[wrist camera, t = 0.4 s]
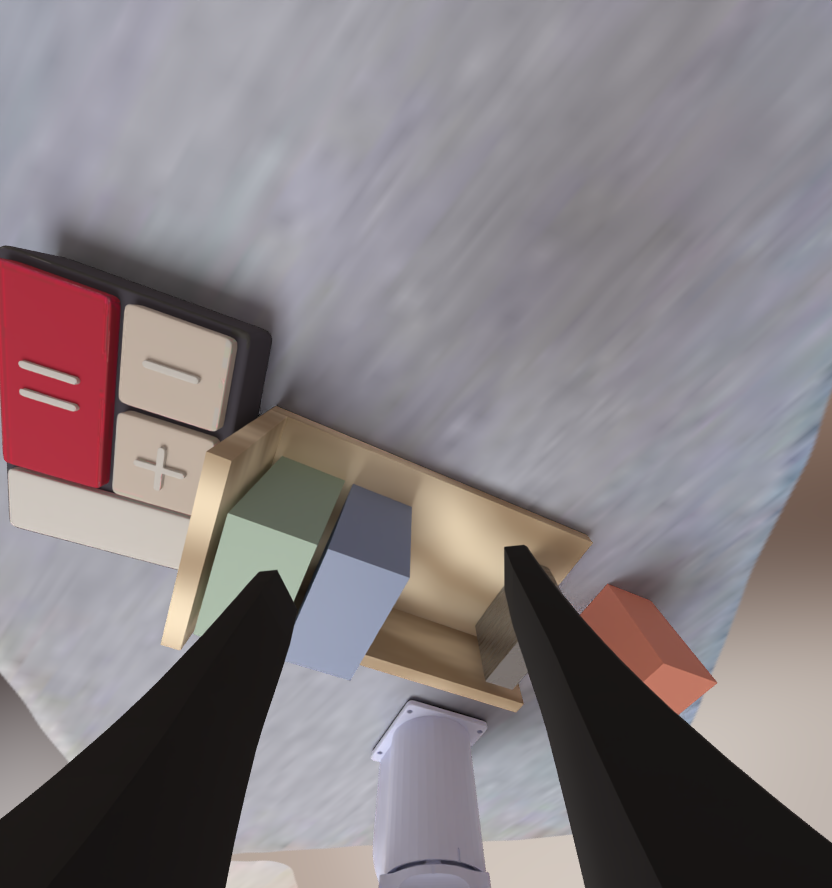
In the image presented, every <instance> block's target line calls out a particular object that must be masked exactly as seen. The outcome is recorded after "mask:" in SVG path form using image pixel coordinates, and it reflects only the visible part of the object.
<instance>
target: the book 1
mask: <svg viewBox="0 0 832 888" xmlns="http://www.w3.org/2000/svg"><path fill="white" fill-rule="evenodd" d="M344 483H345V480H342V479H340V478H337V477H335V476H332V475H330V474H327V473H324V472H322V471H319V470H317V469H314V468H312V467H309V466H307V465H304V464H302V463H299V462H297V461H294V460H291V459H289V458H286V457H284V456H282V457H281V458H280V459H279V460H278V461H277V462H276V463H275V464H274V465H273V466H272V467H271V468H270V469H269V470H268V471H267V472H266V473H265V474H264V475H263V477H262V478H261V479H260V480H259V481H258V482H257V483H256V484H255V485H254V486H253V487H252V488H251V489H250V490H249V491H248V492H247V493H246V494H245V495H244V497H243V498H242V499H241V500H240V501H239V502H238V503H237V504H236V505H235V506H234V507H233V508H232V509H231V510H230V511H229V512H228V514H227V518H226V521H225V525H224V528H223V532H222V535H221V539H220V542H219V546H218V549H217V553H216V556H215V560H214V563H213V567H212V570H211V574H210V577H209V581H208V584H207V588H206V591H205V595H204V598H203V602H202V605H201V609H200V612H199V616H198V620H197V623H196V627H195V630H194V635H198V636H202V635H203V634H204V633H205V631H206V630H207V629H208V628H209V627H210V626H211V625H212V624H213V623H214V621H215V620H216V619H217V618H218V617H219V616H220V615H221V614H222V613H223V611H224V610H225V609H226V608H227V607H228V606H229V605H230V603H231V602H232V601H233V600H234V599H235V598H236V597H237V595H238V594H239V593H240V592H241V591H242V590H243V589H244V588H245V586H246V585H247V584H248V583H249V582H250V581H251V580H252V579H253V577H254V576H255V575H256V574H257V573H258V572H259V571H269V570H278V572H279V574H280V576H281V578H282V580H283V582H284V584H285V586H286V588H287V590H288V592H289V594H290V596H291V598H292V600H293V602H294V600H295V598H296V595H297V593H298V591H299V588H300V586H301V584H302V581H303V579H304V577H305V574H306V572H307V570H308V567H309V565H310V563H311V560H312V558H313V556H314V553H315V551H316V548H317V546H318V544H319V541H320V539H321V537H322V534H323V532H324V530H325V527H326V525H327V523H328V520H329V518H330V515H331V513H332V511H333V508H334V506H335V504H336V501H337V499H338V497H339V494H340V492H341V490H342V487H343V485H344Z"/></svg>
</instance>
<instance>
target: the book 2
mask: <svg viewBox="0 0 832 888" xmlns="http://www.w3.org/2000/svg"><path fill="white" fill-rule="evenodd" d="M411 522H412V507H411V506H408V505H406V504H403V503H401V502H398V501H396V500H393V499H391V498H388V497H386V496H383V495H380V494H378V493H375V492H373V491H370V490H368V489H365V488H363V487H360V486H358V485H355V484H353V485H352V487H351V489H350V492H349V494H348V496H347V498H346V501H345V503H344V505H343V508H342V510H341V512H340V514H339V517H338V519H337V521H336V524H335V526H334V528H333V530H332V533H331V535H330V537H329V540H328V542H327V544H326V547H325V549H324V551H323V553H322V556H321V558H320V560H319V563H318V565H317V567H316V569H315V572H314V574H313V576H312V579H311V581H310V584H309V586H308V589H307V591H306V594H305V596H304V599H303V601H302V604H301V606H300V609H299V611H298V614H297V616H296V619H295V624H294V629H293V634H292V638H291V643H290V646H289V649H288V653H287V656H286V659H285V661H286V662H289V663H292V664H296V665H299V666H303V667H306V668H309V669H313V670H316V671H320V672H323V673H326V674H330V675H333V676H336V677H340V678H343V679H347V680H351V678H352V677H353V675H354V673H355V671H356V670H357V668H358V666H359V665H360V663H361V661H362V659H363V658H364V656H365V654H366V653H367V651H368V649H369V647H370V646H371V644H372V642H373V641H374V639H375V637H376V635H377V634H378V632H379V630H380V628H381V627H382V625H383V623H384V622H385V620H386V618H387V616H388V615H389V613H390V611H391V610H392V608H393V606H394V604H395V603H396V601H397V599H398V598H399V596H400V594H401V592H402V591H403V589H404V587H405V586H406V584H407V582H408V580H409V579H410V557H411Z"/></svg>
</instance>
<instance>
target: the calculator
mask: <svg viewBox="0 0 832 888" xmlns="http://www.w3.org/2000/svg"><path fill="white" fill-rule="evenodd" d="M271 343H272V338H271V335H270V333H269V332H268V331H266V330H264V329H261V328H259V327H256V326H253V325H250V324H248V323H245V322H242V321H239V320H237V319H234V318H231V317H228V316H225V315H223V314H220V313H217V312H214V311H212V310H209V309H206V308H203V307H201V306H198V305H195V304H192V303H190V302H187V301H184V300H181V299H178V298H176V297H173V296H170V295H167V294H165V293H162V292H159V291H156V290H154V289H151V288H148V287H145V286H142V285H140V284H137V283H134V282H131V281H129V280H126V279H123V278H120V277H118V276H115V275H112V274H109V273H106V272H104V271H101V270H98V269H95V268H93V267H90V266H87V265H84V264H82V263H79V262H76V261H73V260H70V259H67V258H64V257H59V256H54V255H50V254H45V253H41V252H36V251H31V250H26V249H22V248H17V247H12V246H2V247H0V404H1V424H2V445H3V456H4V460H5V461H6V462H7V475H8V497H9V518H10V522H11V524H12V525H13V526H15V527H17V528H21V529H24V530H28V531H32V532H36V533H40V534H43V535H47V536H51V537H55V538H59V539H62V540H66V541H70V542H74V543H77V544H81V545H85V546H89V547H93V548H96V549H100V550H104V551H108V552H112V553H115V554H119V555H123V556H127V557H131V558H134V559H138V560H142V561H146V562H149V563H153V564H157V565H161V566H165V567H168V568H172V569H176V570H178V569H179V565H180V561H181V556H182V552H183V548H184V544H185V539H186V535H187V531H188V527H189V522H190V518H191V514H192V510H193V505H194V501H195V497H196V493H197V488H198V484H199V480H200V476H201V471H202V467H203V463H204V459H205V454H206V451H208V450H209V449H211V448H212V447H214V446H215V445H217V444H218V443H220V442H221V441H223V440H224V439H226V438H227V437H229V436H231V435H232V434H234V433H235V432H237V431H238V430H240V429H241V428H243V427H244V426H246V425H247V424H249V423H250V422H252V421H253V420H255V419H257V417H258V412H259V407H260V402H261V396H262V391H263V386H264V381H265V375H266V370H267V365H268V360H269V354H270V349H271Z"/></svg>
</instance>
